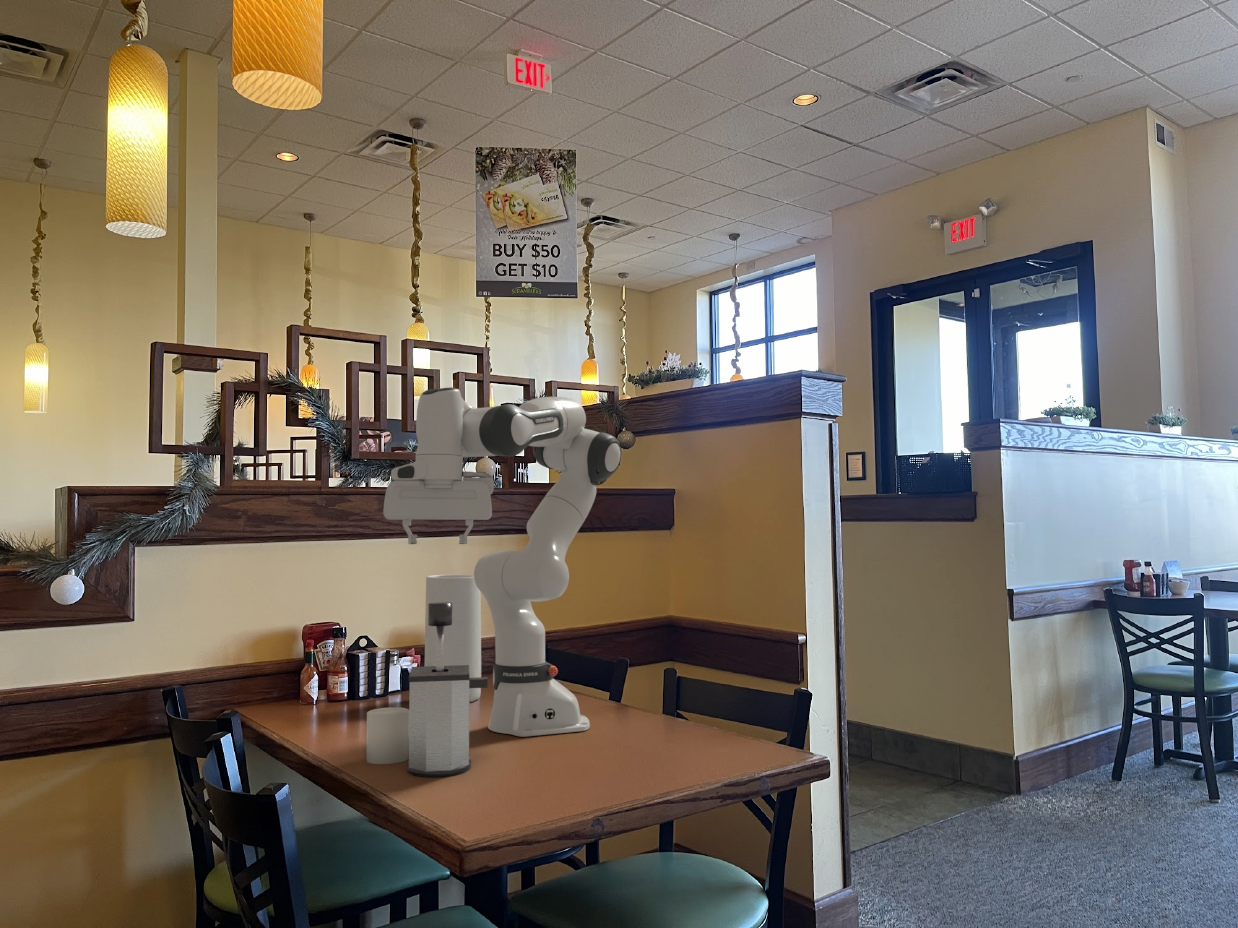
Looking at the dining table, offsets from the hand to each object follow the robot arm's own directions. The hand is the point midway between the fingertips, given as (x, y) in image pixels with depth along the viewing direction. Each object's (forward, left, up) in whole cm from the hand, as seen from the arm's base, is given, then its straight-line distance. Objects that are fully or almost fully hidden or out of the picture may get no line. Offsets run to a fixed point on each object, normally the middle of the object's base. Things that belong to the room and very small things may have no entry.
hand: (438, 544), depth 171 cm
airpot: (-2, +1, -42) cm, 42 cm away
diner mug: (+9, -10, -42) cm, 44 cm away
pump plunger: (-1, +1, -32) cm, 32 cm away
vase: (-3, -63, -42) cm, 76 cm away
